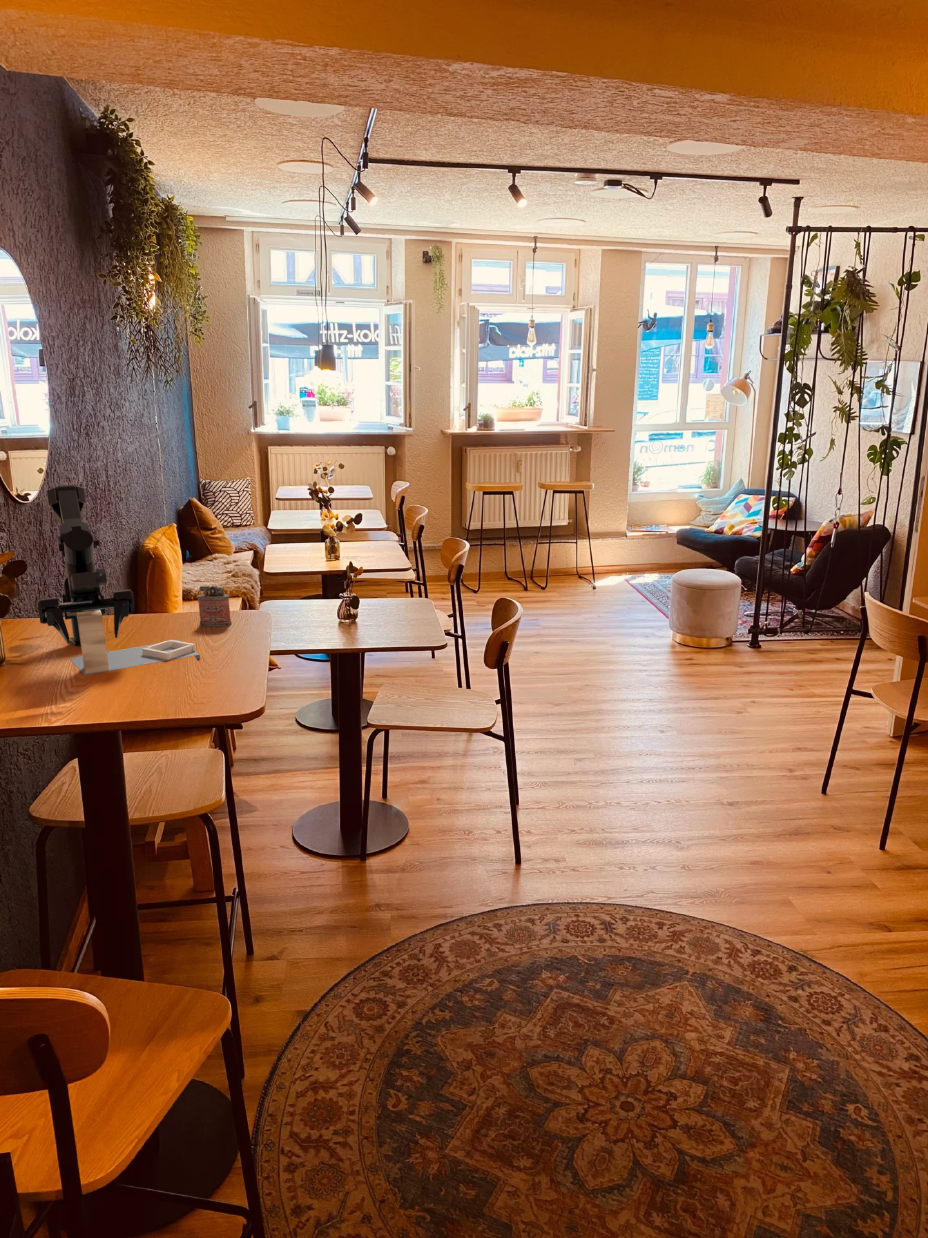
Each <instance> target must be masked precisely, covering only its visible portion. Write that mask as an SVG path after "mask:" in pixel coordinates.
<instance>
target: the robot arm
mask: <svg viewBox="0 0 928 1238" xmlns="http://www.w3.org/2000/svg"><path fill="white" fill-rule="evenodd" d="M86 498H87V497H86V491H85V488H84V487H79V486H78V485H75V484H58V485H57V486H54V487H53V488H52V487H51V488H50V489H48V490H46V501H47V507H48V509H51V512H52V514H51V515H52V518H54V520H55V521H57V523H58V524H60V526H59V527H58V533H59V536H56V545H57V550H58V553H59V554H60V553H61V555H62V557H63V558H64V559H65V563H64V564H65V568H66V575H67V577H66V578H65V580H64V583H63V592H64V593H61V600H62V602H60V603H59V598H58V597H49V598H40V599H39V600H38V601H37V608H38V616H39V622H40V624H44V625H47V626H48V627H53V628H54V629H55V630H56V631H58V633H59V634H60V635H61V637H62V638H63V639H64V641H65V642H66V644H67V645H70V644H71V643H72V644H73V645H74V646H81V642H80V635H79V627H78V620H77V613H78V612H86V611H95V610H100V611H101V613H102V616H104V615H105V614H106V609H111V608H112V609H113V629H114V637H115V639H117V638H118V636H119V633H120V632H119V631H120V628H121V625H122V623H123V620H124V618H127V617H129V615H130V614H133V613H134V612H135V594H134V592H133V591H132V590H131V589H123V590H122V589H121V590H114V591H112V594H113V595H112V597H111V598H110V597H109V598H108V597H107V598H105V595H103V594H102V592H101V587H100V586H106V585H107V584H108V579H107V573H106V568H104V567H103V568H96V567H95V561H94V560H95V551H94V550H97V548H98V546H100V541H99V539H98V537H97V536H95V534H94V533H91V529H90V525H89V524H88V523H86V522H84V521H83V519H82V518H83V517H84V506H86V505H87V499H86ZM63 615H64V616H63ZM67 620H70V622H71V629H72V630H71V631H72V637H70V635H69V631H68V629H67V625H66V622H65V621H67ZM70 641H71V642H70Z"/></svg>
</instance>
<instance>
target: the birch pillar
mask: <svg viewBox="0 0 928 1238" xmlns="http://www.w3.org/2000/svg"><path fill="white" fill-rule="evenodd" d="M103 619H104V618H103V615H102V613H101V611H100V610H95V611H86V612H78V613H77V620H78V627H79V635H80V642H81V645H80V648H81V649H80V650H81V656H82V657H83V665H84V670H85V674H86V673H93V672H100V671H107V670H109V665H108V657H107V652H108V651H107V644H106V642H107V641H106V633H105V626H104V620H103ZM107 672H108V671H107Z"/></svg>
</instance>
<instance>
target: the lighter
mask: <svg viewBox="0 0 928 1238" xmlns="http://www.w3.org/2000/svg"><path fill="white" fill-rule="evenodd" d="M198 590H199V592H204V593H203V594H202V593H201V594H198V595H196V598H197V600H198V611H199V626H202V627H203V626H204V627H225V626H226V625H228V626H231V625H232V620H231V611H230V610H231V609H230V594H227V593H224V591H225V589H224V586H218V585H216V584H213V585H211V586H210V585H200V586H199V588H198Z"/></svg>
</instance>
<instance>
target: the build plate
mask: <svg viewBox="0 0 928 1238" xmlns="http://www.w3.org/2000/svg"><path fill="white" fill-rule="evenodd" d="M175 641H181V640H180V639H176V640H175ZM155 644H158V643H152V644H151V643H150V644H146V645H140V646H135V647H129V648H124V649H116V650H111V651H107V657H108V665H109V670H107V671H100V672H93V673H86V674H85V670H84V665H83V657H82V655H80V656H76V657H69V660H70V661H71V662H72V664H73V665H75V667H76V668H77V669H78V670H79V671H80V672H81V673H82V674H83V676H90V675H95V674H100V673H106V672H111V671H117V670H122V669H128V668H134V667H138V666H144V665H151V664H156V663H161V662H166V661H167V662H168V661H173V660H178V659H183V658H189V657H194V658H195V659H196V660H201V654H200V653H199V652H197V650H196V651H192V652H190V653H187V654H184V655H181V656H178V657H175V658H171V659H169V660H165V659H160V658H155V657H150V656H145V655H143V654H142V648H146V647H148V646H152V645H155ZM175 649H177V648H172V647H169V648H167V649H164V650H161V651H165V652H169V651H172V650H175Z"/></svg>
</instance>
